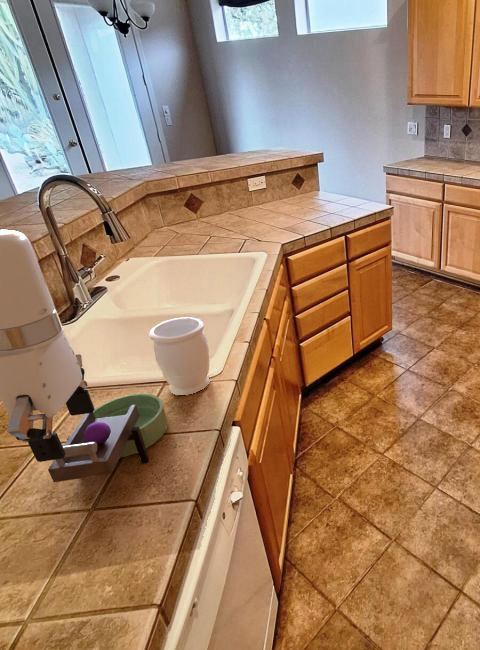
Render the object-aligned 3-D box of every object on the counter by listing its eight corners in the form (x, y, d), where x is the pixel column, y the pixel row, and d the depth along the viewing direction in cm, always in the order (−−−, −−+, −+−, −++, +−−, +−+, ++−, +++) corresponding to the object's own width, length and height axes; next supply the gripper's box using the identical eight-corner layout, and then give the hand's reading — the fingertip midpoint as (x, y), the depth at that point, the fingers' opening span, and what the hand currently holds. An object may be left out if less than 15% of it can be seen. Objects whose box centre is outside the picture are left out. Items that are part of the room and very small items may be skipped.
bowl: (76, 466, 75) (67, 444, 73) (105, 418, 87) (97, 398, 85) (158, 454, 78) (152, 432, 76) (175, 409, 90) (170, 389, 88)
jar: (199, 367, 104) (186, 312, 98) (224, 382, 99) (213, 324, 92) (155, 388, 96) (138, 329, 90) (180, 405, 91) (165, 344, 84)
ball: (92, 437, 72) (82, 450, 69) (87, 419, 71) (77, 431, 68) (116, 434, 73) (107, 447, 70) (111, 416, 72) (102, 428, 68)
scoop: (52, 484, 64) (38, 454, 61) (91, 421, 76) (81, 394, 74) (110, 475, 65) (99, 446, 63) (139, 415, 78) (131, 389, 75)
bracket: (80, 473, 74) (66, 439, 71) (82, 468, 75) (69, 435, 72) (147, 463, 76) (137, 429, 73) (149, 458, 77) (138, 426, 74)
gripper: (26, 305, 61) (66, 402, 69) (-60, 369, 46) (3, 485, 53) (85, 300, 63) (118, 395, 70) (20, 361, 48) (71, 475, 55)
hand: (68, 434), depth 62 cm, fingers open, 9 cm apart
